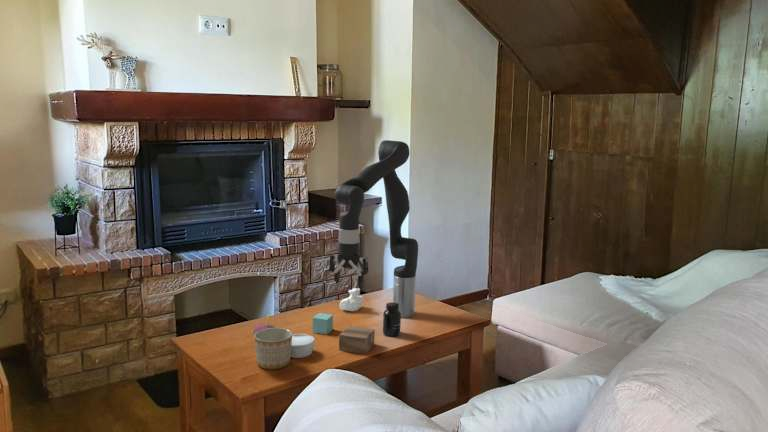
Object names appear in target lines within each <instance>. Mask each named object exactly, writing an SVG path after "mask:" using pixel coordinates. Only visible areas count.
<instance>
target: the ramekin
mask: <svg viewBox="0 0 768 432" xmlns="http://www.w3.org/2000/svg"><path fill="white" fill-rule="evenodd" d="M315 339H316V338H315V337H314V336H312V335H309V334H305V333H292V344H291V355H290V358H294V359H303V358H307V357H310V356H311V354H312V353H313V349H314V345H315V342H316V341H315Z"/></svg>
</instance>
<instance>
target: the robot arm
mask: <svg viewBox="0 0 768 432" xmlns="http://www.w3.org/2000/svg"><path fill="white" fill-rule="evenodd" d="M377 153H378V160H379V161H377V162H374V163H372V164H370V165H368V166H366V167H364V168H363V169H362V170H361V171H359V173H357V174H356V175H355V176H354V177H352V178H350V179H348V180H345V181H343V183H341V184H340V185H338V186H337V188H336V190H335V192H334V199H335V201H336V202H337V203H338V204H340V205H344V206H349V208H348V210H346V211H343V212H340V214H339V222H338V223H339V225H338V227H339V228H338V230H339V231H338V238H337V241H338V255H336V254H334V253H333V254H331V255H329V269H328V271H330V272H332V273H333V274H334V276H333V277H334V282H335V283H336V284H339V283H340V282H341V277H340V276H341V275H340V273H341V272H340V271H341V269H342V268H344V269H350V270H351V269H353V270H354V271H355V272H356V273H357V275H358V276H357V286H358V287H360V286H361V285H362V284H363V283H364V276H365V275H367V274H368V273H369V258H368V257H367V256H365V257H361V256H360V214H361V211H362V207H363V205H364V200H365V193H367V192H369V191H370V190H371V189H372V188H373V187H375V185H376V184H377V183H378V182H379V181H380V180H382V179H383V186H384V192H385V193H384V194H385V202H386V210H387V217H388V225H389V227H388V229H389V249H390V255H391V256H392V257H393V258H395V259H398V260H405V262H404V265H400V266H399V265H398V266H396V267H394V269H393V285H392V286H393V289H392V290H393V292H392V293H393V296H392V302H394V303H398V304H399V309H398V310H399V311H400V312H401V318H412V317H414V316H415V306H416V277H417V276H416V275H417V269H418V259H419V258H418V256H419V242H418V240H416V239H415V238H410V237H406V236H404V237H403V236H402V227H403V226H402V225H403V223H404V221H405V220H406V218H407V216H408V214H409V212H410V199H409V192H408V190H407V189H406V187H405V185H404V184H403V182H402V181H401V179H400V177H399V175H398V173H397V172H396V170H397V169H398V168H399V167H401V166H403V165H404V164H405V163H406V162H407V161H408V159H409V157H410V147H409V145H408V143H406V142H404V141H400V140H399V141H398V140H391V139H390V140H389V139H388V140H387V139H386V140H382V141H381V142H380V143H379V146H378V152H377ZM336 261H338V262H339V264H338V265H337V266H336ZM360 262H361V264H362V267H361V265H360V264H359V263H360Z"/></svg>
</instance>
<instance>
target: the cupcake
mask: <svg viewBox="0 0 768 432" xmlns="http://www.w3.org/2000/svg"><path fill="white" fill-rule="evenodd" d="M269 318H270V312H268V313H267V316H266V322H265V323H258V324H257V325H255V326H254V327H253V329H252V335H253V336H254V335H255V333H256V332H258V331H260V330H263V329H267V328H276V327H275V326H274V325H273V324H271V323H269V320H270V319H269Z"/></svg>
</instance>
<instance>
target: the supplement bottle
mask: <svg viewBox="0 0 768 432" xmlns="http://www.w3.org/2000/svg"><path fill="white" fill-rule="evenodd" d="M385 304H386V305H385V310H384V311H383V315H382V316H383V317H382V334H383V335H384V336H385V337H398V336H399V335H400V334H401V324H402V323H401V312H400V311H399V310H398V309H399V304H398V303H394V302H393V301H392V302H391V301H390V302H386V303H385Z"/></svg>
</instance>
